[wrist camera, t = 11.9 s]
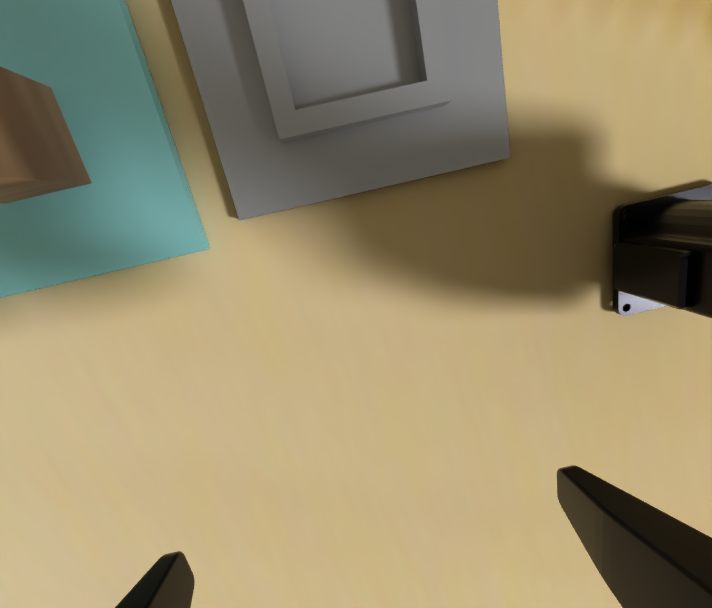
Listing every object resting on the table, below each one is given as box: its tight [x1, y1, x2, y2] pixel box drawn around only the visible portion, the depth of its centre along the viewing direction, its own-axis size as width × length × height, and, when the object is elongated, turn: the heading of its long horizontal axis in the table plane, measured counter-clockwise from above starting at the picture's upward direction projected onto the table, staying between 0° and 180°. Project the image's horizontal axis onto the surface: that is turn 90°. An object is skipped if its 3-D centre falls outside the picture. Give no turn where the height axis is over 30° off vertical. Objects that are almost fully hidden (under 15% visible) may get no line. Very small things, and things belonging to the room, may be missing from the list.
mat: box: [0, 0, 210, 298], centre depth 16 cm, size 12×12×1 cm
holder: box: [171, 0, 510, 220], centre depth 16 cm, size 14×14×2 cm
